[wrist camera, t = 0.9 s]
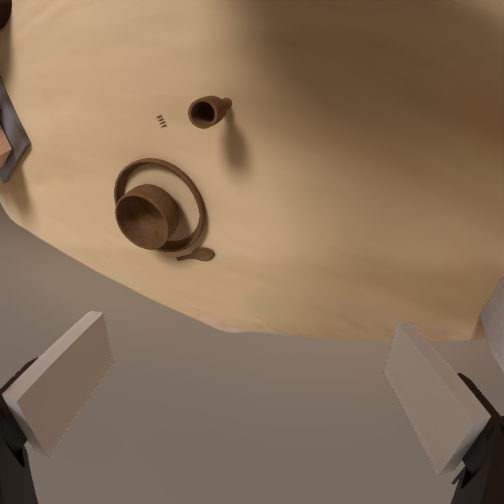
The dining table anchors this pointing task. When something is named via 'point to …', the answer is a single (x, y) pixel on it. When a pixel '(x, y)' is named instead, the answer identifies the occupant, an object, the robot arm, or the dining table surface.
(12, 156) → the base board
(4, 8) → the coffee mug
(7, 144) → the peach box
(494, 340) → the tea bag
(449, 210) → the dining table surface
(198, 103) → the place setting
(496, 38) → the dining table surface
